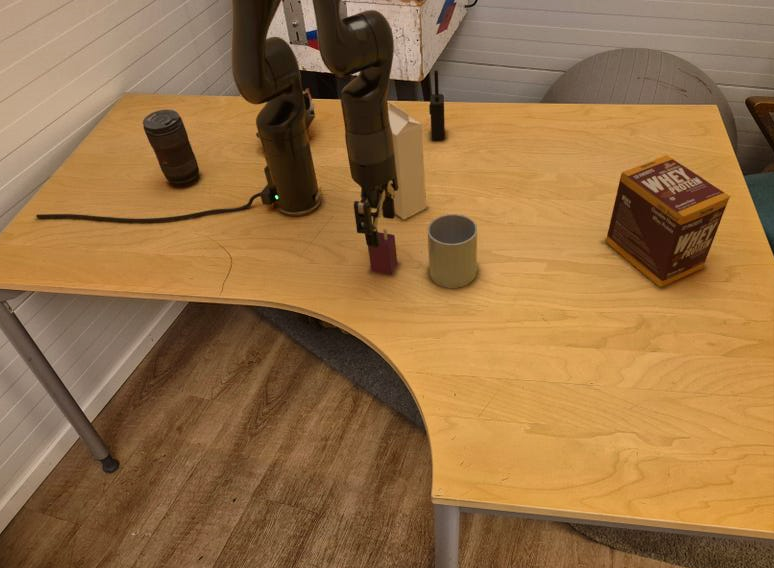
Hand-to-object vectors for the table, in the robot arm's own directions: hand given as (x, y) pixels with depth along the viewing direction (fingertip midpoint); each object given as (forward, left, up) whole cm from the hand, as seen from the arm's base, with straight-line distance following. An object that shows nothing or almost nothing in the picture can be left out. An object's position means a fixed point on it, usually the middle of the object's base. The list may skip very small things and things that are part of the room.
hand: (381, 231), depth 113 cm
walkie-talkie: (-4, +48, -9) cm, 49 cm away
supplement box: (+48, +16, -9) cm, 51 cm away
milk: (-2, +19, -9) cm, 21 cm away
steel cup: (+13, +2, -9) cm, 15 cm away
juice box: (0, 0, -9) cm, 9 cm away
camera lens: (-55, +17, -9) cm, 58 cm away
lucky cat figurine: (-39, +39, -9) cm, 56 cm away
